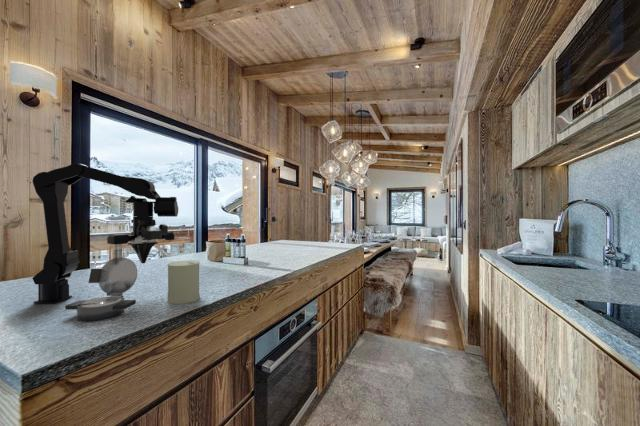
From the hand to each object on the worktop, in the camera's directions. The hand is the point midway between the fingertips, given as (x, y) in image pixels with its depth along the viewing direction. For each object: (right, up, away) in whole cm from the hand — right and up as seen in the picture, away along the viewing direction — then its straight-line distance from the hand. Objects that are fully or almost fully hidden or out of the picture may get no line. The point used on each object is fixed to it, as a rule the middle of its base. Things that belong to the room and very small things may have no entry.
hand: (143, 263), depth 94 cm
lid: (-1, -1, -13) cm, 13 cm away
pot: (+1, -11, -19) cm, 22 cm away
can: (+16, -11, -5) cm, 20 cm away
